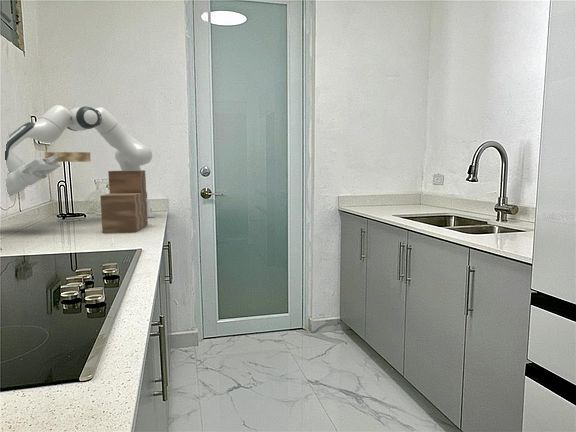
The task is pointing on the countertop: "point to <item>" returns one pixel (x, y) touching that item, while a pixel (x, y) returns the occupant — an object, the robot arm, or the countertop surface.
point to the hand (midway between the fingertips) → (60, 155)
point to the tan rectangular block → (70, 156)
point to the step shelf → (125, 202)
